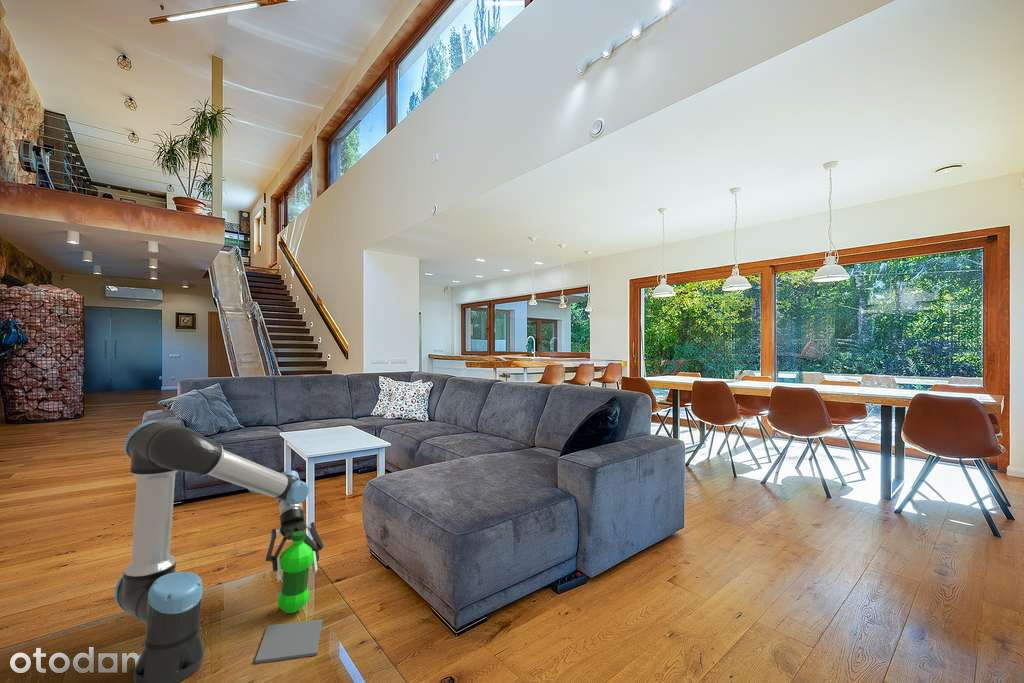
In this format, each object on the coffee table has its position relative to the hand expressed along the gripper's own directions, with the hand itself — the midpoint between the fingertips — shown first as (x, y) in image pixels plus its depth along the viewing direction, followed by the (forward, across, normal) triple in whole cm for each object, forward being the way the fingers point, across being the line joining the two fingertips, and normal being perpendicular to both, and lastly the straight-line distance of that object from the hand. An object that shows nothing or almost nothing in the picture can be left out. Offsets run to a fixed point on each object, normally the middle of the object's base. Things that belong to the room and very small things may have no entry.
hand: (297, 576), depth 145 cm
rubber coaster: (+18, +4, 0) cm, 19 cm away
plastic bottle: (+7, 0, -11) cm, 13 cm away
